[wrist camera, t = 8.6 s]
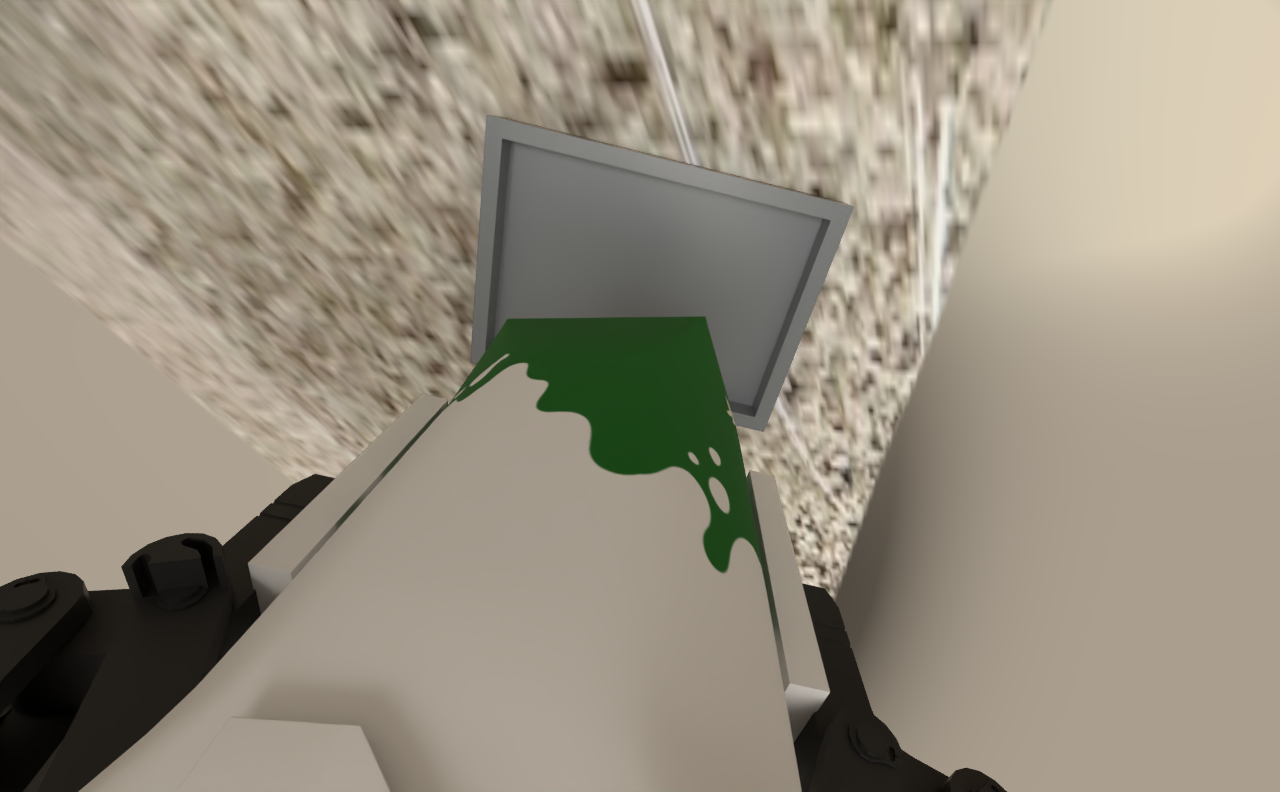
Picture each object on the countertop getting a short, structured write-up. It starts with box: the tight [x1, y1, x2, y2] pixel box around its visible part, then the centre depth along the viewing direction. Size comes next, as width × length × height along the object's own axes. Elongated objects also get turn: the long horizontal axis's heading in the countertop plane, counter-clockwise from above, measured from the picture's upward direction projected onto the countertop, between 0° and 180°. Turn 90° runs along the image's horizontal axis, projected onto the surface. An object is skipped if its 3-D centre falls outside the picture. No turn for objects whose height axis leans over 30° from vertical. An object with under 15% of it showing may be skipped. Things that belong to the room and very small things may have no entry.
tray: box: [470, 115, 854, 432], centre depth 34 cm, size 22×16×2 cm
